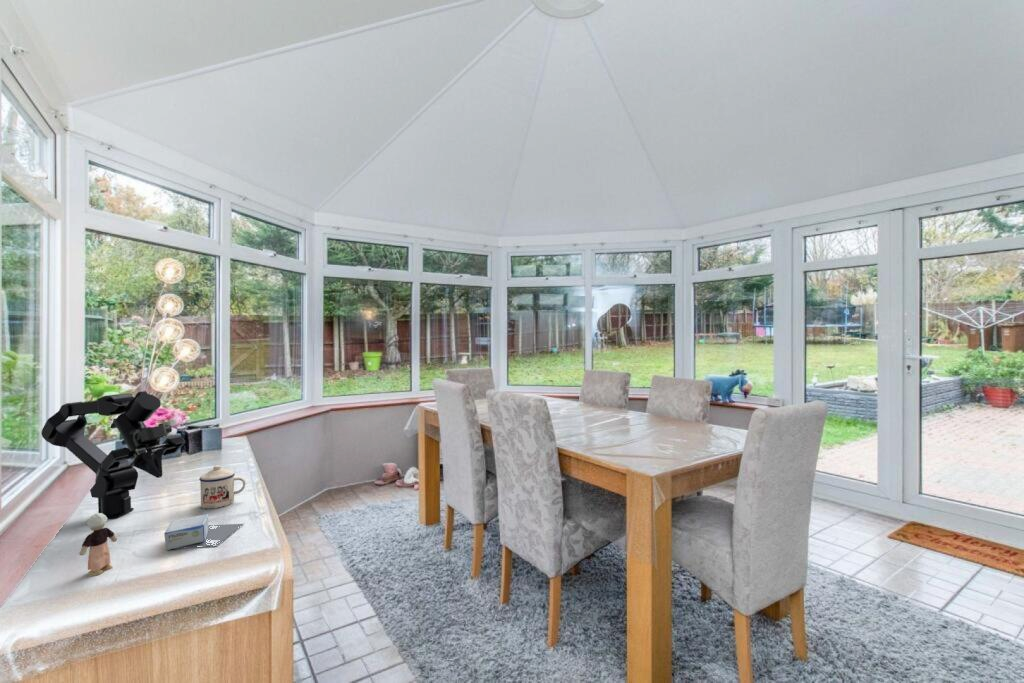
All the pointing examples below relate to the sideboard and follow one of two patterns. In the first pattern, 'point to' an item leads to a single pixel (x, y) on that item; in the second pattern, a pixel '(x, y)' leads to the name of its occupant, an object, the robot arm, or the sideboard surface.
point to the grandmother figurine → (98, 545)
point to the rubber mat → (217, 534)
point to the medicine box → (186, 532)
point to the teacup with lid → (218, 487)
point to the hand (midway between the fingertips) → (160, 476)
